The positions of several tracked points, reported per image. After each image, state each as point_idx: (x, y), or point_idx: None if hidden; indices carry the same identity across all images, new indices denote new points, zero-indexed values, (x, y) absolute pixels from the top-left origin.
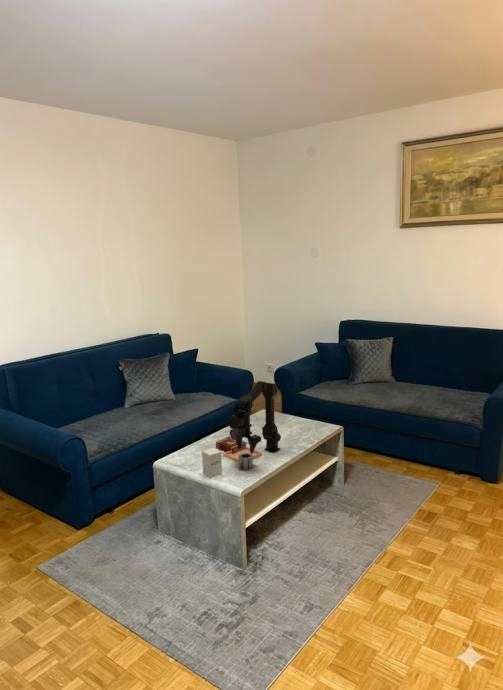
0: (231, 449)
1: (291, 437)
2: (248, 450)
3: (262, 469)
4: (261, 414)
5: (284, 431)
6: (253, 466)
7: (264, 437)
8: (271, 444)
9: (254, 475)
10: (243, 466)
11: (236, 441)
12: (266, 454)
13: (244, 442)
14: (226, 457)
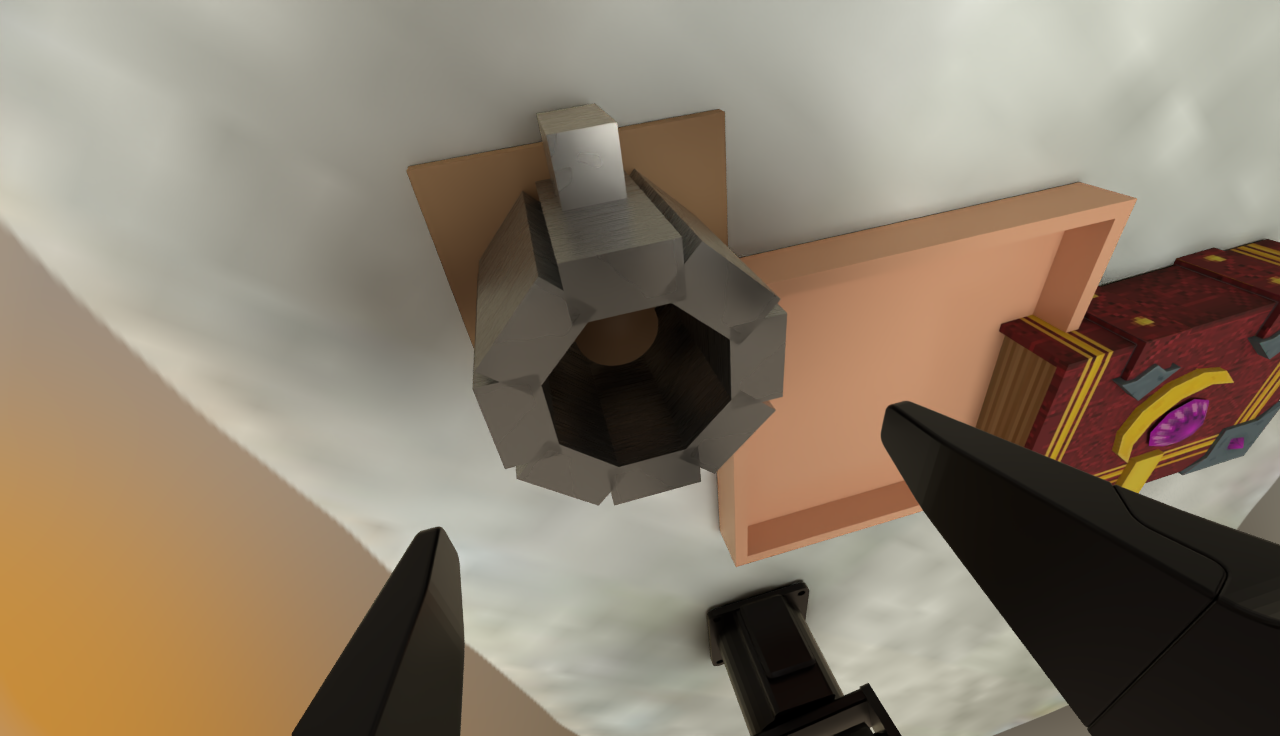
0: (1078, 342)
1: None
2: None
3: (406, 429)
4: None
5: (889, 708)
6: None
7: (873, 712)
8: (759, 682)
9: (227, 247)
10: (523, 212)
11: (1181, 535)
12: (721, 567)
13: None
14: (1030, 199)
